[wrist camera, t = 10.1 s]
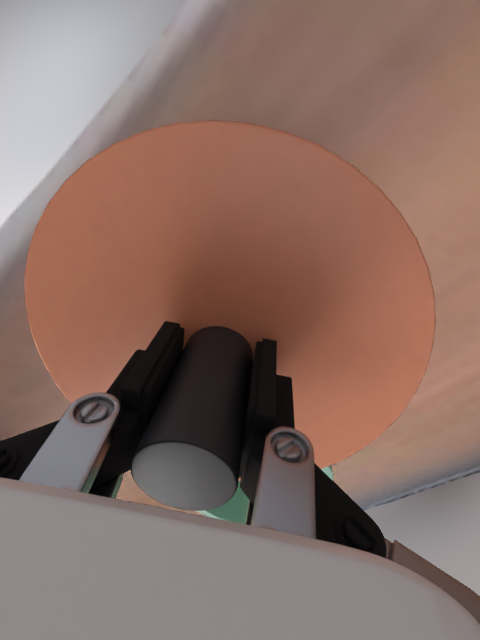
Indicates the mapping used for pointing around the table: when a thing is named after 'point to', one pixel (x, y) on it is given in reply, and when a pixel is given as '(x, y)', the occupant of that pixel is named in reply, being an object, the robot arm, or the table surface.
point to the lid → (231, 293)
